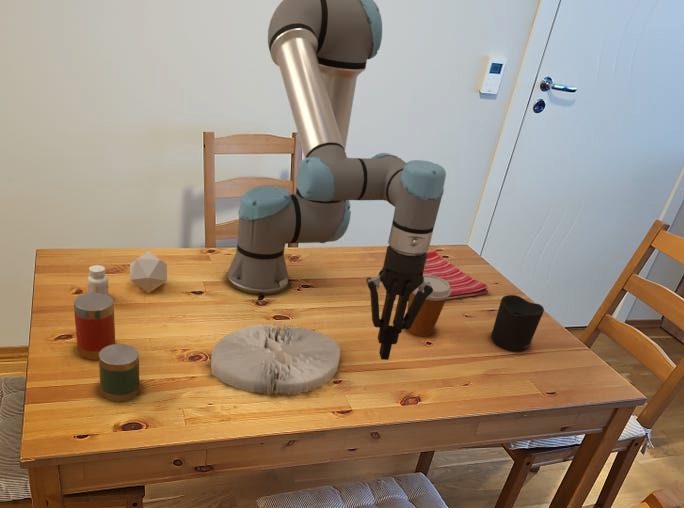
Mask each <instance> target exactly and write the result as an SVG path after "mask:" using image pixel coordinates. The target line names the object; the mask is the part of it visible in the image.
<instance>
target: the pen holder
mask: <svg viewBox="0 0 684 508" xmlns="http://www.w3.org/2000/svg"><path fill="white" fill-rule="evenodd" d="M544 311H545V308H544V307H543V305H542V304H540V303H534V302H530V301H529V300H526V299H524V298H523V297H521V296H519V295H514V294H509V295H504V296H503V297H501V299H500V303H499V307H498V310H497V313H496V317H495V321H494V324H493V329H492V332H491V336H490V338H491V341H492V342H493V343H494V344H495V345H496V346H497V347H499V348H500V349H503V350H506V351H509V352H514V353H515V352H517V353H518V352H524V351H526V350H528V349H529V347H530V345H531V342H532V340H533V339H534V336H535V334H536V331H537V328H538V326H539V324H540V321H541V320H542V317H543V315H544Z"/></svg>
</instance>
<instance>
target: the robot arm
mask: <svg viewBox="0 0 684 508" xmlns="http://www.w3.org/2000/svg"><path fill="white" fill-rule="evenodd" d="M382 39H383V21H382V15H381V12H380V9H379V6H378V4H377V3H376V1H375V0H282V1H281V2H280V3H279V4H278V5H277V6H276V8H275V10H274V12H273V14H272V16H271V18H270V20H269V25H268V29H267V46H268V50H269V55H270V58H271V61H272V62H273V63H274V65H276V66H277V67H278V68H279V70H280V74H281V78H282V81H283V86H284V89H285V93H286V96H287V99H288V103H289V106H290V110H291V114H292V117H293V121H294V125H295V129H296V132H297V136H298V139H299V143H300V146H301V150H302V153H303V157H304V158H303V159H302V160H301V161H300V162H299V166H298V168H297V174H296V179H297V184H296V190H295V193H293V194H291V192H290V190H289V189H287V188H285V187H282V186H280V185H278V186H275V185H260V186H255V187H252V188H249V189H248V190H246V191H245V192H244V193H243V194H242V196H241V198H240V204H239V209H238V227H237V230H238V231H237V242H236V250H235V253H234V255H233V258H232V260H231V262H230V265H229V268H228V271H227V279H226V280H227V282H228V285H230V286H231V287H233V288H234V289H235V290H238V291H240V292H242V293H245V294H250V295H258V296H269V295H275V294H278V293H281V292H283V291H284V290H286V289H287V287H288V285H289V273H288V269H287V264H286V259H285V247H286V245H287V244H317V243H318V244H326V243H329V242H330V243H332V242H336V241H338V240H339V239H341V238H342V237H343V236H344V235H345V233H346V232H347V230H348V229H349V225H350V220H351V213H352V211H351V210H350V209H351V203H350V201H386V202H388V203H389V204H390V205H391V206H393V207H394V212H393V218H392V223H391V227H390V231H389V236H388V240H387V243H388V246H387V247H386V251H385V257H384V261H383V265H382V268H381V270H380V271H379V273H378V275H377V276H374V277H367V278H366V279H365V282H366V284H367V288H368V289H369V295H370V308H371V309H370V310H371V321H372V324H373V326H374V328H379V330H378V334H377V340H378V344H380V345H379V347H380V348H379V351H378V352H379V357H380V360H385V361H389V360H390V355H391V351H392V348H393V347H392V346H393V345H397V344H398V341H399V336H400V334H401V333H402V332H403V331H402V330H406V331H408V329H410V328H411V326H412V324H413V322H414V320H415V318H416V316H417V314H418V312H419V310H420V309H421V307H422V305H423V303H424V301H425V299H426V298H427V297H428V296H429V295H430V294H431V293H432V292H433V288H432V286H431V284H430V283H429V282H426V281H424V277H423V271H424V267H425V263H426V259H427V253H428V251H429V250H430V246H431V245H430V244H431V241H432V236H433V233H434V229H435V225H436V221H437V217H438V213H439V210H440V206H441V202H442V198H443V196H444V193H445V188H444V187H445V182H446V178H447V177H446V176H447V172H446V169H445V168H444V167H443V166H442V165H440V164H438V163H434V162H432V161H429V160H421V159H413V160H409V161H406V162H405V161H404V160H403V159H402V157H398V156H397V155H394V154H391V153H389V152H380V153H377V154H376V155H374V156H372V157H370V158H360V157H348V155H347V153H346V148H347V142H348V135H349V129H350V123H351V116H352V111H353V105H354V104H353V103H354V98H355V91H356V85H357V80H358V76H359V75H361V73H363V72H365V70H366V68H367V63H368V62H367V61H368V60H370V59H373V58H375V57H376V56H377V55H378V52H379V50H380V48H381V44H382ZM380 284H381V285H383V287H384V290H385V297H384V302H383V307H382V312H381V316H380V302H379V301H380V300H379V292H378V290H379V289H380V287H381V286H380ZM418 287H419V288H418ZM417 288H418V289H419V290H418V291H417V293H416V295H415V297H414V299H413V301H412V303H411V305H410V307H409V309H408V308H407V307H408V301H409V296H410V294H411V293H412V292H413V291H414V290H415V289H417ZM397 296H398V297H397ZM397 298H398V299H397ZM396 300H397V302H396ZM395 302H396V307H395V312H394V317H393V321H392V324H391V325H390V322H391V318H392V312H393V309H394V304H395ZM407 309H408V311H407Z"/></svg>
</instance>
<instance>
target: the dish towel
mask: <svg viewBox="0 0 684 508" xmlns="http://www.w3.org/2000/svg"><path fill="white" fill-rule="evenodd" d="M426 253H427V259H426V263H425V267H424V271H423V275H431V276H436V277H439V278H441V279H443V280H445V281H446V282H448V284H449V285H450V291H451V293H450V295H449V296H448V298H447V299H446V301H447V300H453V299H459V298H461V299H462V298H467V297H475V296H479V295H480V296H481V295H486V294H488V293H489V290H487V289H488V285H487V283H484V282H482V281H480V280H477V279H475V278H474V277H472V276H470V275H469V274H467V273H465V272H463V271H462V270H460V269H459V268H457V266H455V265H454V264H452V263H451V262H448V261H447V260H446V259H445V258H444V257H442V256H440V255H439V254H438V252H436V251H430V252H426Z"/></svg>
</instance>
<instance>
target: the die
mask: <svg viewBox="0 0 684 508" xmlns="http://www.w3.org/2000/svg"><path fill="white" fill-rule="evenodd" d="M129 264H130V265H129V281H131V282H132V283H133V284H134V285H136V286H137V287H139V288H141V289H142V290H143V291H145V292H146V293H147V294H150V293H152V292H153V291H154V290H156V289H157V288H159V287H160V286H162V285H164V284H165V283H166V282H167V281H168V263H166V262H165V261H163V260H162V259H160V258H159V257H158V256H156V255H155V254H153V253H152V252H151V251H149V250H148V251H147V252H145V253H143V254H142V255H140V256H139V257H137V258H136V259H134V260H133V261H131V262H130V263H129Z"/></svg>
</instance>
